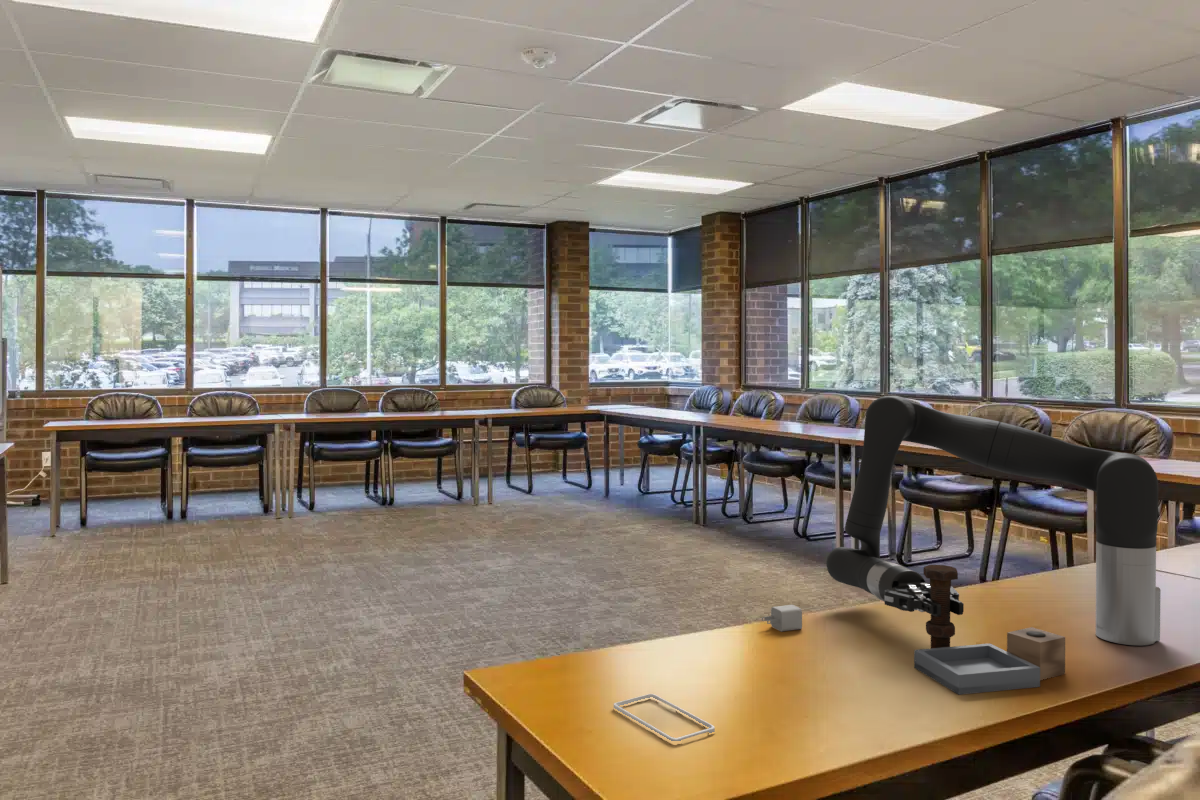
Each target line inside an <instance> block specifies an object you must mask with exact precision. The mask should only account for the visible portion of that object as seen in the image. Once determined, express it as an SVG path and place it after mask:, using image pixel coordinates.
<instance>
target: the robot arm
mask: <svg viewBox="0 0 1200 800" xmlns="http://www.w3.org/2000/svg"><path fill="white" fill-rule="evenodd" d="M863 432H864V433H863V448H862V453H861V460H860V466H859V469H858V474H857V479H856V482H855V487H854V489H853V493H852V497H851V501H850V505H849V508H848V512H847V513H848V514H847V515H846V516H847V517H846V520H845V525H844V530H845V533H846V534H847V535H848V536H849V537H852V539H855V540H857V541H860V542H859V543H860V549H859V548H858V549H857V548H852V547H845V546H838V547H835V548H834V549H832V550H831V551H830V552H829V554H828V555H827V558H826V569H827V572H828V574H829V576H830V577H831V578H832V579H833V580H835V581H836V582H839V583H841V584H844V585H847V586H851V587H855V588H859V589H861V590H864V591H865V592H867V593H869V594H871V595H873V596H875V597H876V598H877V599H879V600H880V601H882V602H884V605H886V606H888V607H891V608H896V609H898V610H900V611H904V612H910V613H912V612H915V611H918V612H920V613H925V612H926V613H928V614H929V615H933V616H936V617H939V616H941V605H940V603H937V602H935V601H933V600H931V591H930V590H931V588H930V583H927V582H926V580H925V578H924V577H923V576H922V575H921V574H920V573H919V572H918V571H915V570H912V569H910V568H908V567H906V566H903V565H900V564H897V563H894V562H890V561H888V560H884V559H882V558H881V548H880V547H881V530H882V527H883V524H884V520H885V515H886V512H887V508H888V501H889V495H890V494H889V493H890V487H891V486H890V485H891V476H892V471H893V466H894V462H895V459H896V456H897V454H898V451H899V448H900V446H901V444H902V442H907V443H908V442H909V443H913V444H914V443H915V444H920V445H925V446H927V447H928V446H929V447H933V448H936V449H939V450H942V451H944V452H947V453H949V454H951V455H953V456H955V457H957V458H959V459H962V460H964V461H967V462H969V463H972V464H974V465H978V466H979V467H980V466H981V467H983V468H987V469H990V470H994V471H996V472H997V471H998V472H1001V473H1005V474H1008V475H1009V474H1010V475H1015V476H1018V477H1019V476H1020V477H1026V478H1031V479H1032V478H1033V479H1041V480H1042V479H1043V480H1051V481H1053V480H1054V481H1059V482H1063V483H1068V484H1071V485H1075V486H1079V487H1080V488H1084V489H1087V490H1089V491H1092V492H1095V493H1096V518H1095V519H1096V524H1095V526H1096V527H1095V529H1096V530H1095V535H1096V538H1095V541H1096V542H1095V543H1096V544H1095V553H1096V554H1095V635H1096V637H1098V638H1099V639H1102V640H1105V641H1107V642H1111V643H1115V644H1119V645H1127V646H1150V645H1153V644H1155V642H1159V641H1161V596H1162V595H1161V591H1162V590H1161V588H1160V587H1159V586H1157V536H1158V525H1159V524H1158V515H1159V480H1158V475H1157V474H1156V471H1155V470H1154V468H1153V467H1152V466H1151V464H1150V463H1149V462H1148V461H1147V460H1146V459H1145V458H1143V457H1141V456H1140V455H1136V454H1134V453H1129V452H1118V451H1112V450H1107V449H1106V450H1105V449H1099V448H1094V447H1088V446H1082V445H1078V444H1075V443H1071V442H1067V441H1064V440H1061V439H1059V438H1056V437H1054V436H1051V435H1047V434H1045V433H1042V432H1038V431H1035V430H1031V429H1027V428H1026V427H1025V428H1024V427H1021V426H1018V425H1013V424H1010V423H1006V422H1002V421H998V420H993V419H988V418H982V417H978V416H977V417H976V416H970V415H964V414H963V415H962V414H955V413H949V412H945V411H941V410H938V409H934V408H931V407H929V406H925V405H923V404H920V403H918V402H915V401H912V400H909V399H907V398H905V397H902V396H900V395H899V396H898V395H884V396H881V397H878V398H876V399H875V400H874V401H872V402H871V403H870V404H869V405H868V407H867V409H866V411H865V421H864V431H863ZM950 613H953V614H955V615H957V616H961V615H963V614H964V603H963V601H960V593H959V592H958V591H957V590H956V589H955V587H953V586H951V588H950Z"/></svg>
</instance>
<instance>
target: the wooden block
mask: <svg viewBox="0 0 1200 800" xmlns="http://www.w3.org/2000/svg"><path fill="white" fill-rule="evenodd" d="M1006 635H1007V636H1006V651H1007V652H1009V653H1011V654H1013V655H1015V656H1017V657H1019V658H1021V659H1023V660H1026V661H1028V662H1030V663H1032V664H1034V665H1036V666H1038V667H1040V681H1043V679H1044V680H1047V678H1048V679H1051V677H1052V678H1055V677H1059V676H1062V675H1065V674H1066V636H1064V635H1060V634H1056V633H1052V632H1049V631H1046V630H1043V629H1040V628H1035V627H1033V626H1030V627H1026V628H1022V629H1017V630H1013V631H1008V632H1006Z"/></svg>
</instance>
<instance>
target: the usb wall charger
mask: <svg viewBox="0 0 1200 800" xmlns="http://www.w3.org/2000/svg"><path fill="white" fill-rule="evenodd" d="M762 621H763V622H766V621H767V625H770V626H771V627H772V628H773V629H776V631H779V632H788V631H795V630H797V631H798V630H802V628H803V610H802V608H801V607H799V606H797V605H794V604H786V605H779V606H772V607H771V608H770V615H768V616H762V617H761V622H762Z"/></svg>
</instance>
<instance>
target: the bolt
mask: <svg viewBox="0 0 1200 800" xmlns="http://www.w3.org/2000/svg"><path fill="white" fill-rule="evenodd" d="M958 575H959V571H958V570H957V568H956V567H953V566H950V565H946V564H945V565H944V564H928V565H926V566H924V567H923V576H924V577H925V578H926V579H929V584H930V588H931V590H930V591H931V600H933V601H935V602H937V603H940V605H941V616H939V617H936V616H933V615H931V614H929V615H930V619H929V620H927V621H926V622H925V631H926V633H927V635H929V636H930V648H942V647H951V638H952V637H954V636H955V635H956V626H955V623H954V622H951V612H950V588H951V587H952V581H954V580H959V579H958V578H959V577H958Z"/></svg>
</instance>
